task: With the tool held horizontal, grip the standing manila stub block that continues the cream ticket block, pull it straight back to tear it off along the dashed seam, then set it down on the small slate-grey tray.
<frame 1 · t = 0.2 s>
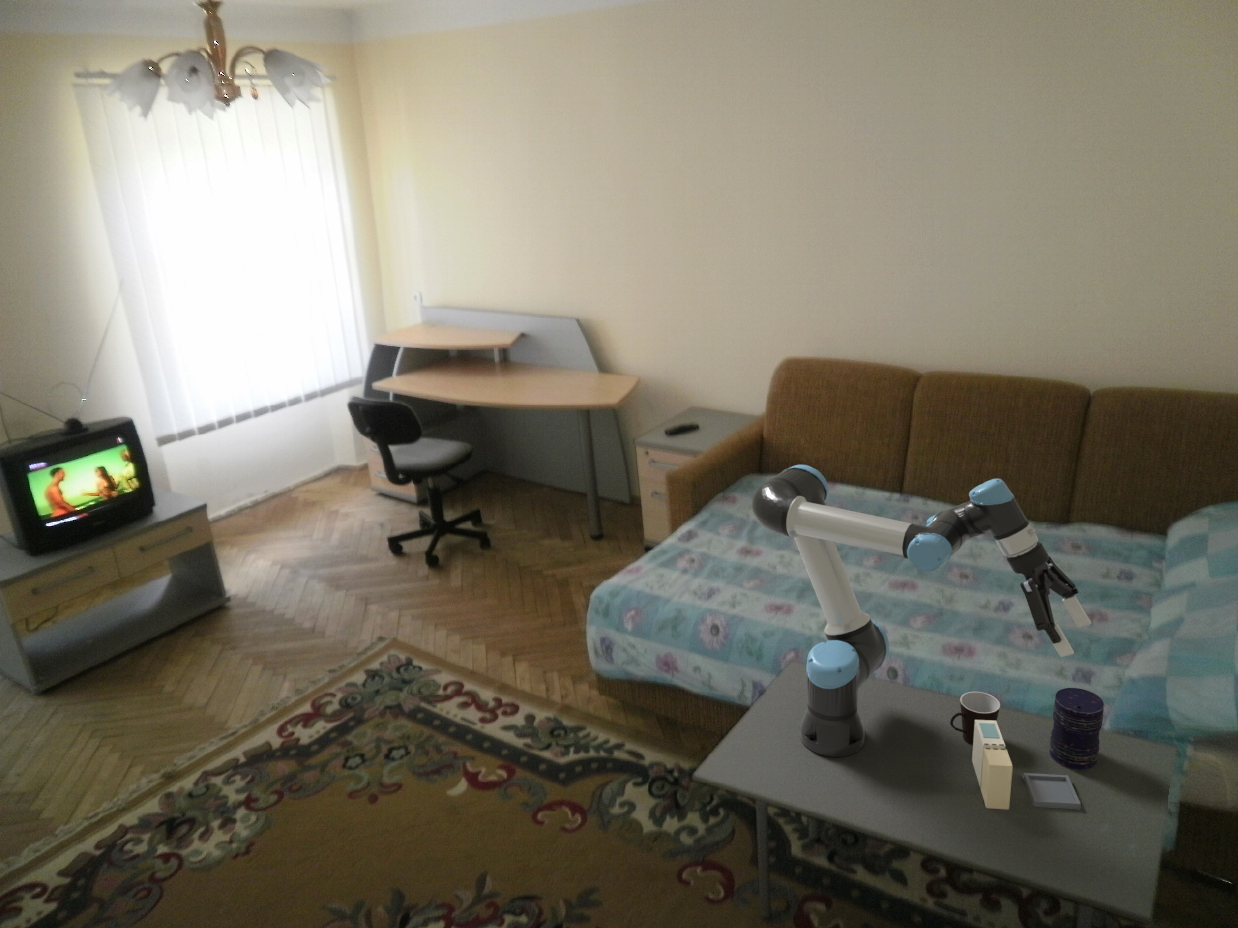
hand: (1076, 639, 183), 35 cm above the table, tool tilted 35°, fingers open, 13 cm apart
stub: (994, 799, 191), on the table
stub tray: (1051, 793, 191), on the table
ticket body: (986, 774, 198), on the table
storage jar: (1072, 757, 202), on the table
coffee mug: (970, 738, 210), on the table
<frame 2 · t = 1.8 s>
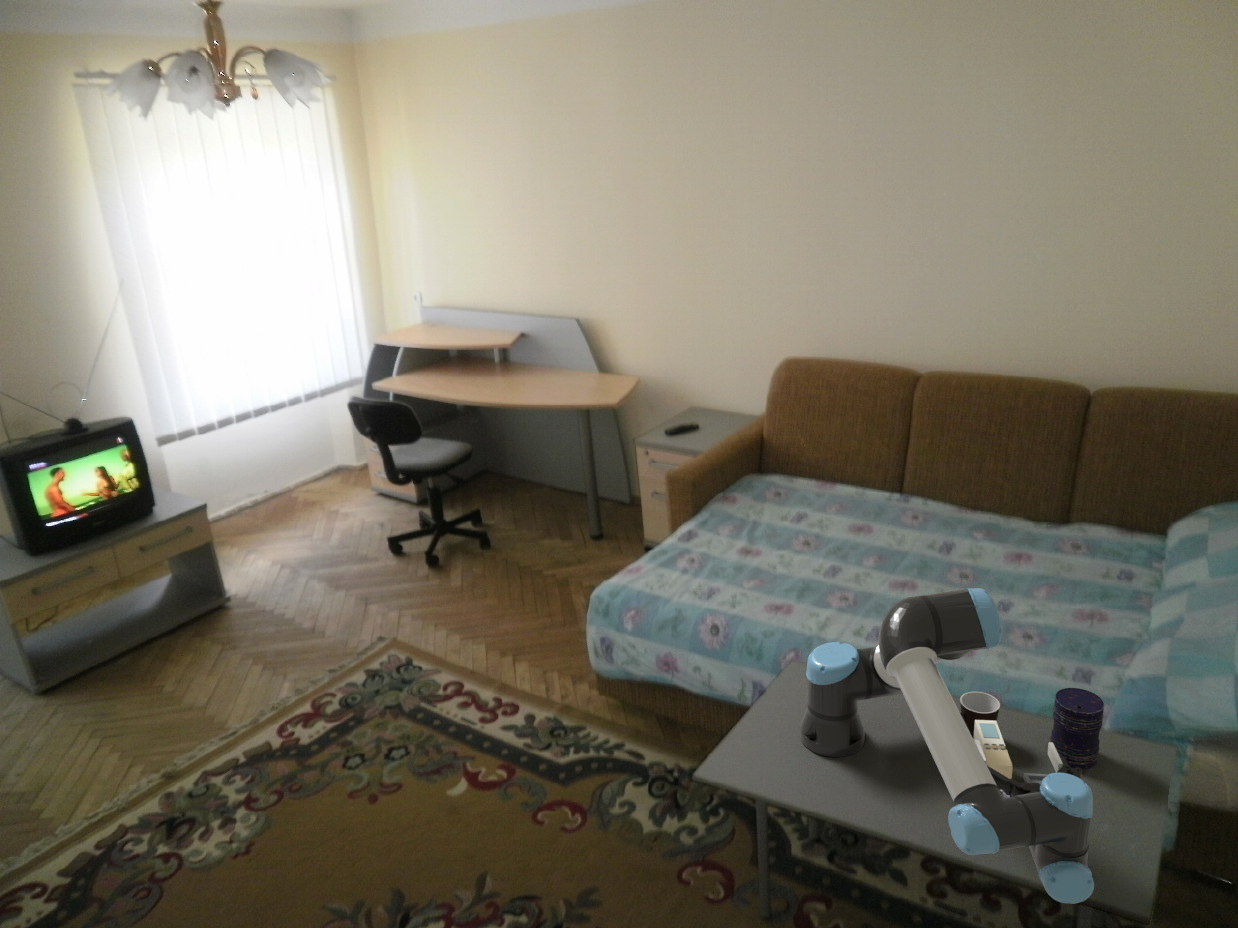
hand: (1013, 746, 175), 21 cm above the table, tool horizontal, fingers open, 13 cm apart
nothing on the table moved.
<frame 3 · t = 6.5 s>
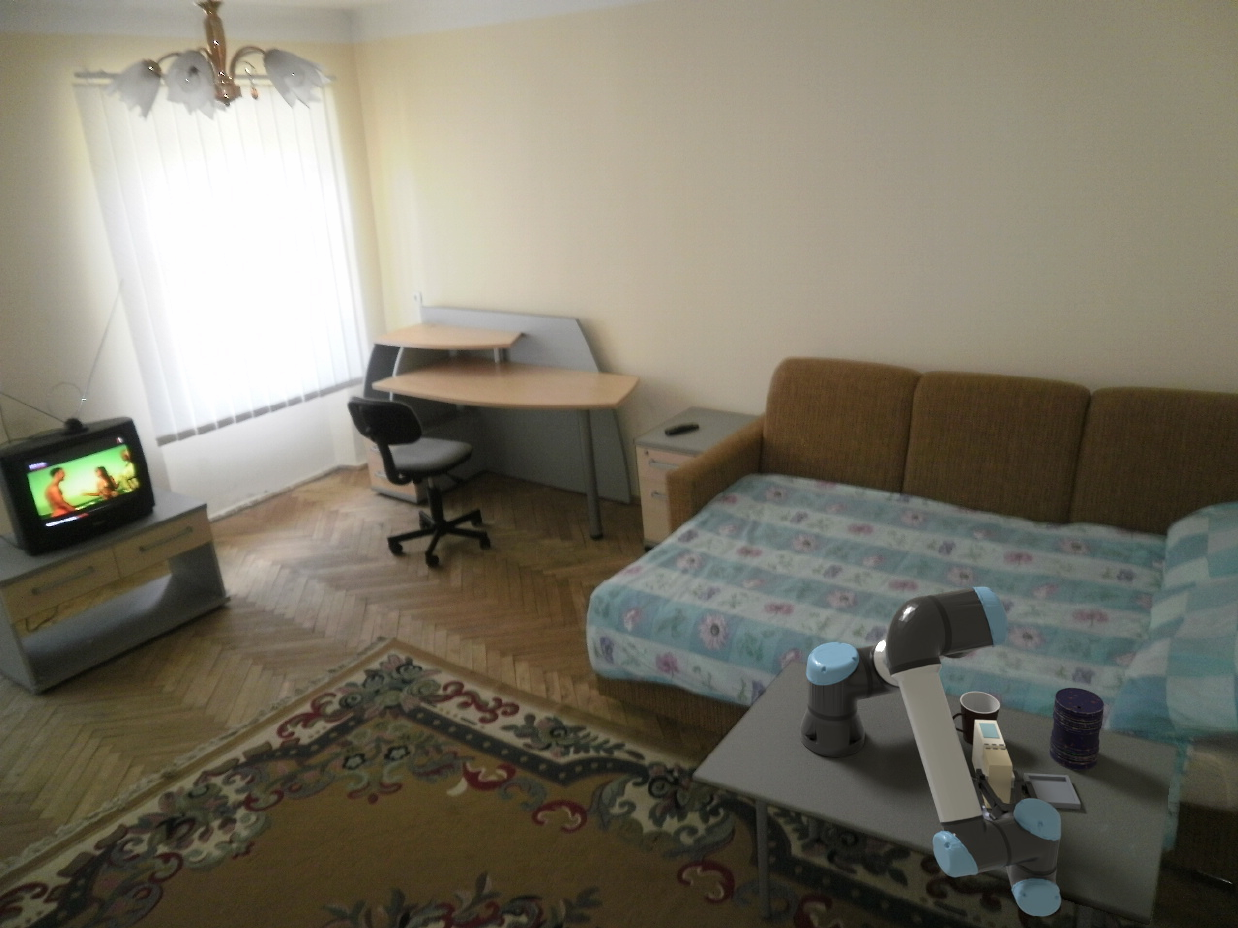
hand: (992, 761, 192), 6 cm above the table, tool horizontal, fingers closed on stub, ticket body, 4 cm apart
stub: (994, 799, 191), on the table, touching gripper
everything else where it was.
when the fingers open (8 cm above the table, at t = 12.4 s): stub stays where it is, resting on stub tray.
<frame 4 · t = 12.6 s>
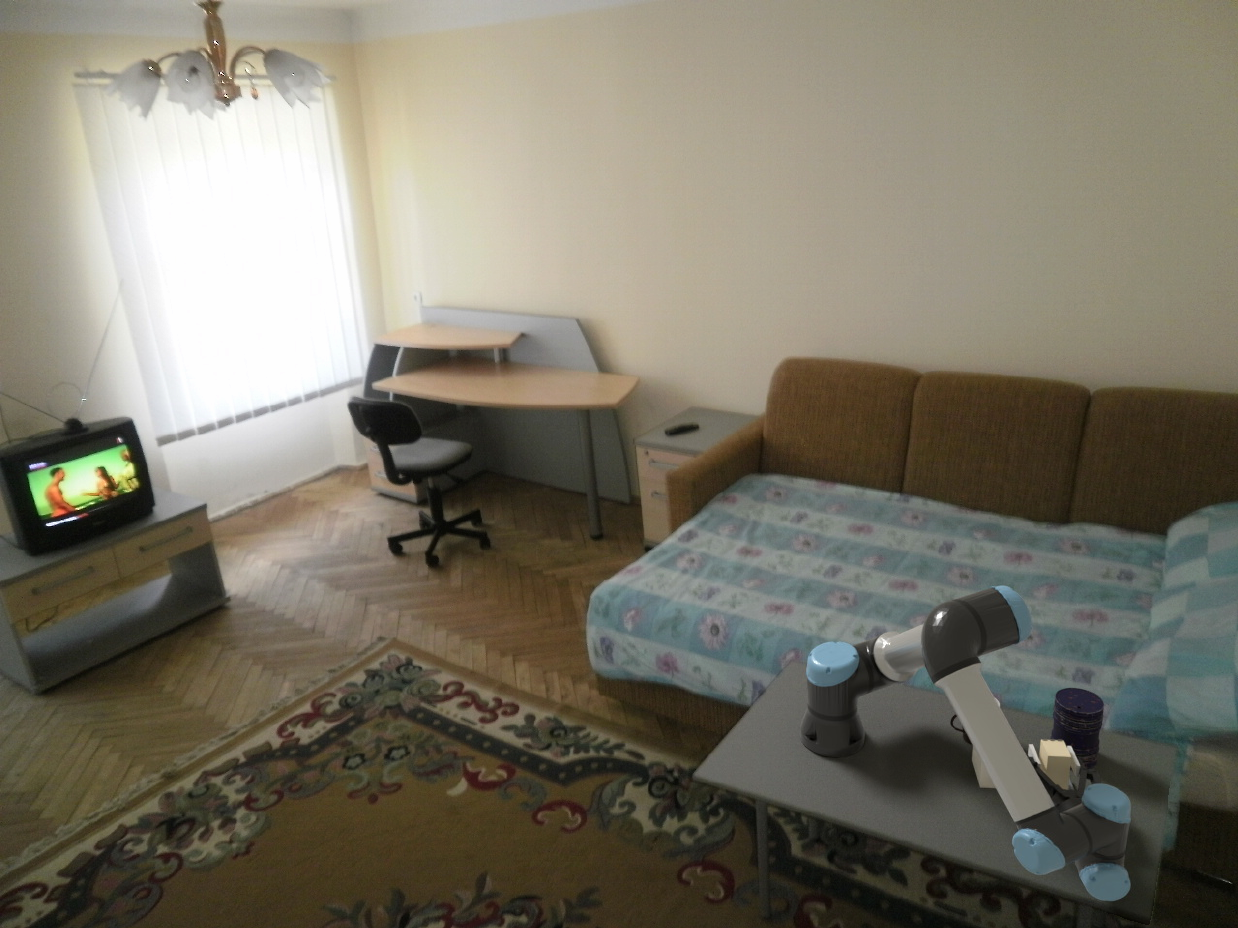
hand: (1049, 750, 192), 8 cm above the table, tool horizontal, fingers open, 7 cm apart
stub: (1051, 791, 191), point 1 cm above the table, touching stub tray
everything else where it was.
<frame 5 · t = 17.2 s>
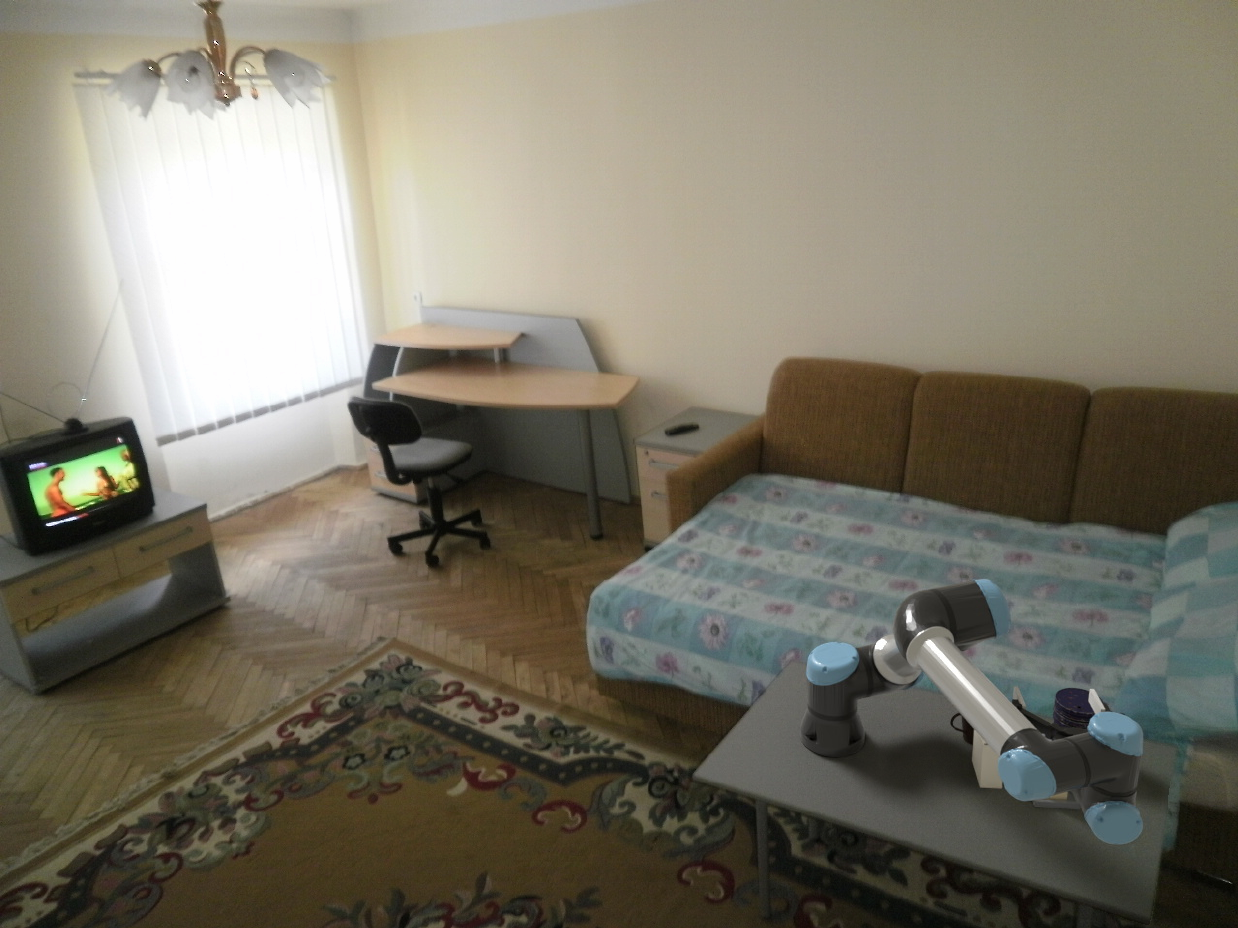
hand: (1052, 693, 172), 32 cm above the table, tool horizontal, fingers open, 13 cm apart
nothing on the table moved.
at the end: stub inside the target area on the stub tray (0.1 cm from its centre), point 0.6 cm above the stub tray's base; stub touching stub tray; stub tilted 0° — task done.
